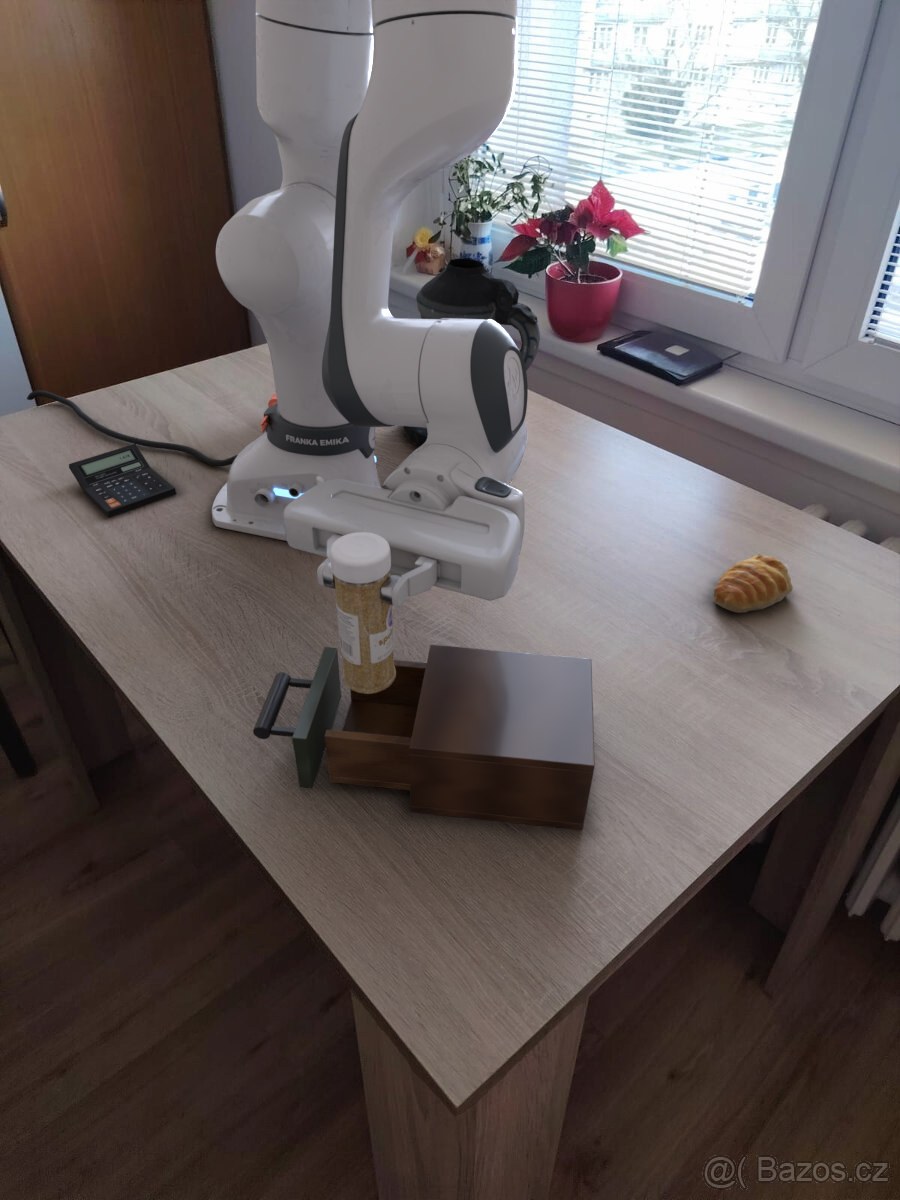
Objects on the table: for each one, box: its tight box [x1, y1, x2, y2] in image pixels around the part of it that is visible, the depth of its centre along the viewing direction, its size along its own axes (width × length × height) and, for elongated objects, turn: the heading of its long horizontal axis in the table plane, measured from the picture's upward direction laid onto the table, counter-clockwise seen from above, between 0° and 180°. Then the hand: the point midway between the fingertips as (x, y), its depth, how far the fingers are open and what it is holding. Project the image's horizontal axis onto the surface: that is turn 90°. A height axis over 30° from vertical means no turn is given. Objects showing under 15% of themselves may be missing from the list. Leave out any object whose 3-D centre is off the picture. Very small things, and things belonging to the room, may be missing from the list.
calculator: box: [68, 443, 177, 518], centre depth 111 cm, size 9×12×3 cm
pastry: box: [713, 554, 794, 614], centre depth 94 cm, size 9×7×4 cm
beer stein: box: [402, 258, 541, 447], centre depth 120 cm, size 16×19×25 cm
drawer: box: [252, 646, 427, 791], centre depth 73 cm, size 18×11×6 cm, turn 83°
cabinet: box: [409, 644, 596, 831], centre depth 72 cm, size 15×13×8 cm
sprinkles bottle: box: [330, 532, 396, 694], centre depth 66 cm, size 5×5×13 cm
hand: (357, 589), depth 63 cm, fingers closed on sprinkles bottle, 4 cm apart
